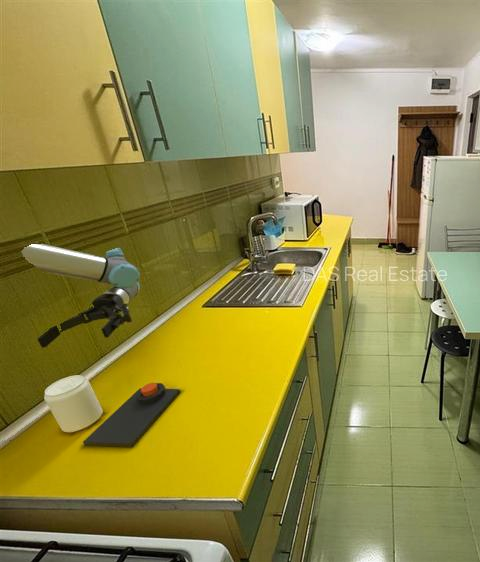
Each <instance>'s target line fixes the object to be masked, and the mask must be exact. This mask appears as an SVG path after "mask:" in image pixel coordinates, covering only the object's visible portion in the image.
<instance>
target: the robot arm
mask: <svg viewBox="0 0 480 562" xmlns="http://www.w3.org/2000/svg"><path fill="white" fill-rule="evenodd" d="M21 252H22V254H23V257H25V259H26V260H27V261H28V262H29V263H31V264H33V265H34V266H36V267H38V268H40V269H42V270H44V271H46V272H49V273H48V274H50V273H53V274H52V275H55V274H56V276H61V277H68V278H74V279H81V280H85V281H86V280H87V281H92V282H98V283H104V284H105V283H108V284H112V285H113V286H115V287H113V288H111V289H109V290H107V291H106V292H104V291H103V292H104V293H103V292H102V293H103V294H102V295H100V294H99V295H100V296H99V295H98V296H97V297H95V298H94V299H93V300H92V301H93V302H92V301H91V303H92V304H93V305H94V307H91V308H90V307H88V310H87V309H85V310H86V311H85V310H83V311H79V312H80V313H79V314H78V315H77V316H75V317H72V318H70V319H68V320H66V321H64V322H63V323H61V324H60V326H61V329H62V330H61V331H60V332H59V330H58V328H57V326H54V327H52V328H50V329H49V330H48V331H47V332H45V331H44V332H45V333H44V332H43V333H44V334H43V333H42V334H43V335H42V334H41V335H40V336H39V337H38V338H37V341H38V342H39V345H40V347H41V348H46V347H48V346H49V345H51V343H52V342H54V341H55V340H56V339H57V338H58V337H59V336H60V335H61V333H63V332H64V331H67V330H70V329H72V328H75V327H77V326H80V325H82V324H83V325H84V324H86V325H87V324H89V323H91V322H94V321H98V320H104V319H106V320H108V322H107V323H105V324H104V326H102V328H100V330H101V332H102V334H103V336H104V338H105V339H106V338H109V337H110V336H111V335H112V334H113V333H114V331H115V330H116V329H119V327H120V326H121V325H123V324H125V323H126V322H127V323H132V322H133V319H132V317H131V314H130V311H131V310H130V307H129V306H128V305H129V303H131V301H132V300H133V299H134V298H136V296H137V295H138V293H139V292H140V289H141V285H140V282H139V281H140V278H141V274H140V272H139V270H138V269H137V267H136V266H135V265H133V264H132V263H130V262H129V261H128V260H126V257H125V254H124V252H123V250H122V249H121V248H120V247H118V248H115V249H112V250H109V251H107V252H106V257H107V258H104V257H99V256H95V255H93V254H90V253H86V252H81V251H76V250H73V249H68V248H63V247H58V246H54V245H50V246H49V244H46V243H45V244H44V243H41V244H31V245H29V246H27V247H24V249H23V250H22V251H21ZM84 314H85V315H86V316H84ZM122 314H123V315H122Z"/></svg>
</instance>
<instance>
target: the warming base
mask: <svg viewBox="0 0 480 562" xmlns="http://www.w3.org/2000/svg"><path fill="white" fill-rule="evenodd" d="M155 383H156V384H157V387H158V391H157V392H156V393H155V394H153V395H151V396H147V397H145V396H143V394H142V392H141V388H142V387H140V388H138V389H137V390H136V391H135V392H134V393H132V395H131V396H130V397H129V398H128V399H126V401H124V403H122V404H121V405H120V406H119V407H118V408H117V409H116V410H115V411H114V412H113V413H112V414H111V415H110V416H108V418H107V419H106V420H104V421H103V422H102V423H101V424H100V425H99V426H98V427H97V428H96V429H95V430H93V431H92V432H91V434H90V435H88V436H87V437H86V438H85V439H84V440H83V441H82V443H83V445H84V446H89V447H90V446H91V447H92V446H95V447H124V448H127V447H128V448H133V447H134V446H135V445H136V444H137V442H138V441H139V440H140V439H141V438H142V437H143V436H144V435H145V433H146V432H147V431H148V430H149V429H150V427H151V426H152V425H154V423H155V422H156V421H157V420H158V418H160V416H162V414H163V413H164V412H165V410H166V409H168V407H169V406H170V405H171V404H172V402H174V401H175V399H176V398H177V397H178V395H180V394H181V389H180V388H166V386H165V385H164V384H163V383H162V382H155Z"/></svg>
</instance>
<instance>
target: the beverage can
mask: <svg viewBox="0 0 480 562" xmlns="http://www.w3.org/2000/svg"><path fill="white" fill-rule="evenodd" d="M43 399H44V401H45V403H46V405H47V406H48V408H49V410H50V412H51V414H52V415H53V417H54V419H55V421H56V423H57V424H58V426H59V427H60V429H61V431H62V432H65V433H74V432H78V431H81V430H83V429H86V428H88V427H90V426H91V425H93V424H94V423H95V422H97V421H98V420H99V419H100V418H101V417H102V415H103V413H104V411H103V408H102V406H101V404H100V402H99V399H98V397H97V395H96V394H95V391H94V389H93V387H92V385H91V383H90V380H88V379H87V378H86V377H84V375H82V374H81V375H80V374H77V375H76V374H75V375H70V376H66V377H64V378H61V379H59V380H57V381H55V382H53V383H51V384H50V385H49V386H47V387H46V388H45V390H44V396H43Z"/></svg>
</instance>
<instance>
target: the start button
mask: <svg viewBox="0 0 480 562" xmlns="http://www.w3.org/2000/svg"><path fill="white" fill-rule="evenodd" d="M156 383H157V382H149V383H147V384H145V385H143V386H142V387H140V388H141V392H142V394H143V396H145V397H147V396H151V395H153V394H155V393H156V392H157V391H158V387H157V384H156Z"/></svg>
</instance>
